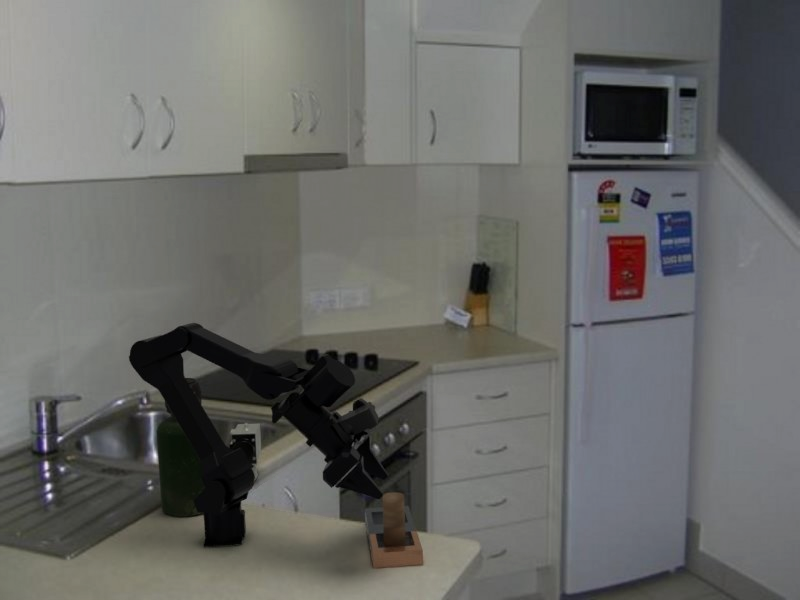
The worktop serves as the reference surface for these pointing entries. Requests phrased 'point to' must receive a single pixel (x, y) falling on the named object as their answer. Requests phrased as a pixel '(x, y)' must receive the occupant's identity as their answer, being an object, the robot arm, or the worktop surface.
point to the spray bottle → (178, 465)
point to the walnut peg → (393, 519)
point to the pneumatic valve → (248, 442)
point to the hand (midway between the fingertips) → (383, 487)
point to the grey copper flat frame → (392, 554)
